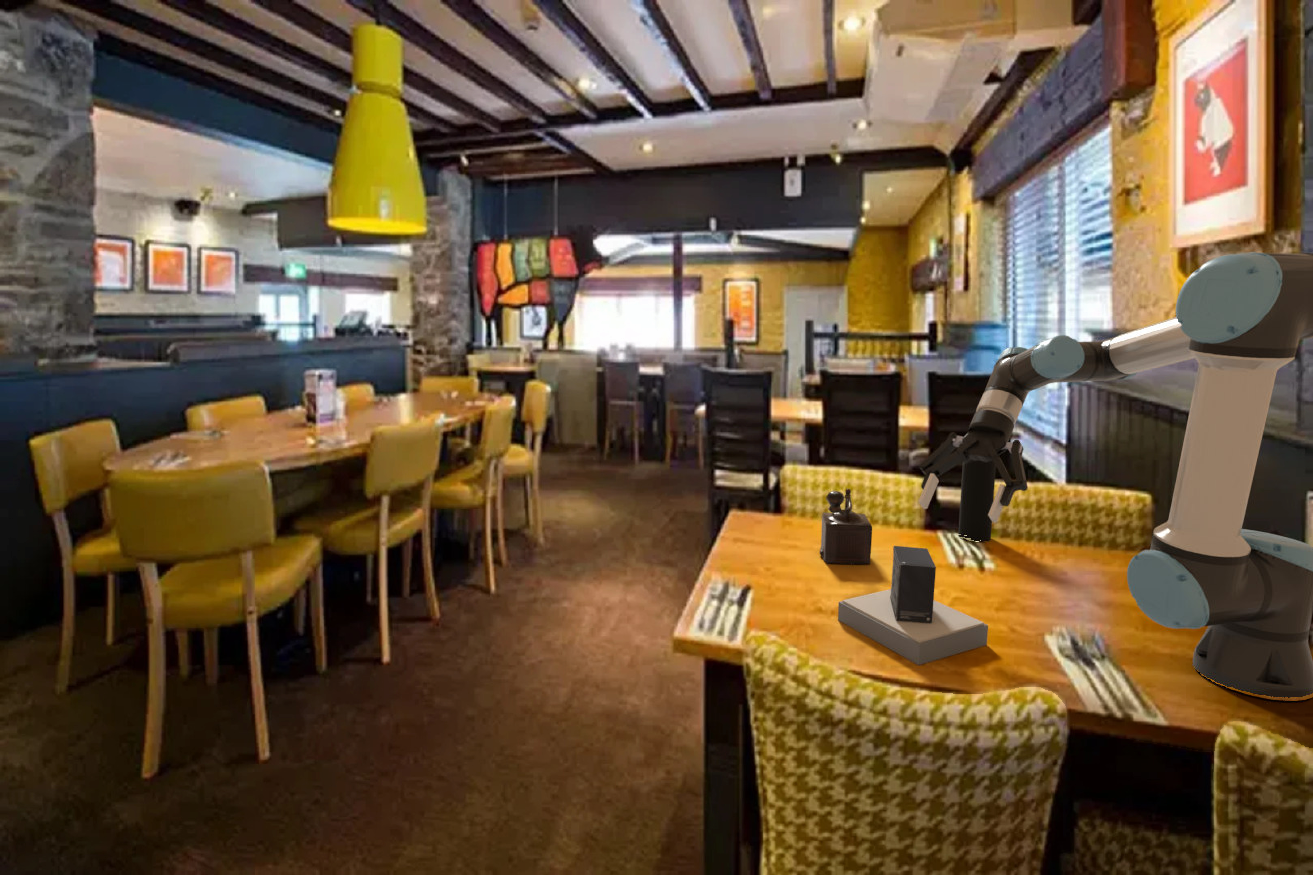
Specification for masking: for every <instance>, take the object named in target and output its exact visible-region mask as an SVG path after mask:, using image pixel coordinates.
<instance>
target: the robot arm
mask: <svg viewBox="0 0 1313 875" xmlns="http://www.w3.org/2000/svg"><path fill="white" fill-rule="evenodd" d="M1309 339H1313V252H1311V253H1310V252H1309V253H1308V252H1304V253H1293V252H1291V253H1290V252H1289V253H1288V252H1287V253H1281V252H1278V253H1277V252H1276V253H1275V252H1273V253H1272V252H1257V251H1256V252H1255V251H1251V252H1241V253H1235V254H1233V253H1232V254H1231V253H1230V254H1226V255H1224V254H1223V255H1221V256H1217V257H1215V258H1212V259H1211V260H1208V261H1207V262H1205V263H1203V264H1202V265H1201V266H1200V267H1199V268H1197V269H1196V270H1195V271H1193V272H1192V273H1191V274H1190V276H1189V277H1187V279H1186V281H1185V282H1184V283H1183V285H1182V287H1181V288H1180V290H1179V293H1178V296H1177V299H1176V303H1175V317H1172V318H1168V319H1166V320H1162V321H1159V322H1156V323H1153V324H1149V325H1147V326H1144V327H1140V328H1137V329H1135V330H1132V331H1128V332H1126V333H1122V334H1118V335H1116V336H1112V337H1111V338H1110V337H1109V338H1107V339H1103V340H1097V341H1096V340H1095V341H1094V340H1093V341H1078V340H1077V339H1075V338H1073V337H1071V336H1069V335H1066V334H1060V335H1056V336H1052V337H1051V338H1047V339H1044V340H1043V341H1040V342H1039V343H1037V344H1036V345H1034V346H1031V347H1030V348H1026V347H1022V346H1016V347H1008V348H1006V349H1004V350H1003V351H1002V352H1001V353H1000V355H999V357H998V359H997V360H996V361H995V363H994V365H993V369H992V372H991V374H990V377H989V379H988V382H987V384H986V387H985V390H984V392H983V393H982V396H981V398H980V400H979V403H978V405H977V407H976V410H975V413H974V415H973V416H972V419H971V422H970V423H969V426H968V431H967V433H966V434H965V435H964V436H961V435H957V434H956V432H954V431H953V432H950V433H949V435H948V436H947V437H946V440H945V441H944V442H943V443H942V444H941V445H940V446H939V447H937V448H936V449H935V450H934V451H933V452H932V453H931V454H930V455H929V456H927V458H926V459H925V460H923V461H922V462H921V463H920V464H919V466H918V467H919V469H920V470H921V472H922V473H923V475H925V476H924V478H923V480H922V482H921V485H920V487H921V489H922V492H921V494H920V497H919V498H918V503H919V505H920V506H921V507H922V508H923V509H924V510H926V509H928V508H929V505H930V502H931V501H932V498H933V496H934V495H935V494H934V493H935V491H936V489H937V486H938V484H939V482H940V481H939V477H940V476H941V475H943V474H945V473H947V472H948V471H950V470H951V469H953V468H955V467H956V466H958V465H960V464H961V463H963V462H966V461H967V460H969V459H972V460H975V461H978V460H981V461H983V462H988V461H991V460H993V461H994V463H995V465H996V470H998V473H999V474H1000V476H1001V478H1002V480H1003V481H1004V484H999V487H998V489H997V491H996V494H995V496H994V499H993V504H992V506H991V509H990V511H989V514H988V516H989V517H990V519H991V521H992V523H994V524H997V523H998V521H999V519H1000V517H1001V514H1002V510H1003V509H1004V507H1008V506H1009V505H1010V503H1011V501H1012V500H1013V495H1014V493H1016V492H1017V491H1021V492H1025V491H1027V490H1028V489H1029V486H1028V482H1027V477H1026V472H1025V469H1024V468H1025V467H1024V463H1023V458H1022V456H1023V452H1024V447H1023V445H1022V443H1021V441H1020V440H1019V439H1015V440H1013V441H1011V442H1009V441H1010V438H1011V436H1012V433H1013V431H1014V429H1015V424H1016V423H1017V420H1018V417H1019V416H1020V413H1021V411H1022V408H1023V406H1024V403H1025V401H1026V399H1027V396H1028V394H1029V393H1030V392H1032V391H1034V390H1037V389H1040V388H1042V387H1044V386H1047V385H1051V384H1055V383H1078V382H1079V383H1080V382H1097V381H1098V382H1101V381H1108V382H1118V381H1122V380H1129V379H1131V378H1133V377H1136V375H1137V374H1139V373H1141V372H1144V371H1148V370H1149V371H1150V370H1153V369H1157V368H1161V367H1165V366H1169V365H1174V364H1177V363H1181V362H1185V361H1189V360H1193V359H1195V360H1196V362H1197V363H1198V366H1197V372H1196V378H1195V383H1194V388H1193V392H1192V397H1191V402H1190V408H1189V412H1188V419H1187V423H1186V429H1185V433H1184V439H1183V444H1182V449H1181V455H1180V459H1179V466H1178V469H1177V474H1176V480H1175V484H1174V490H1173V494H1172V501H1171V506H1170V510H1169V515H1168V520H1167V521H1166V522H1164V523H1162V524H1160V525H1158V526H1156V527H1155V528H1154V529H1153V533H1152V539H1151V542H1150V544H1151V545H1150V548H1149V549H1144V550H1141V551H1140V552H1138V554H1136V555H1134V556H1132V558H1131V560H1130V561H1129V563H1128V567H1127V571H1126V577H1127V578H1126V580H1127V585H1128V590H1129V592H1130V594H1131V597H1132V598H1133V599H1134V600H1135V602H1136V604H1137V606H1138V608H1139V609H1140V611H1142V612H1143V613H1144V614H1145V616H1147V617H1148V618H1149V619H1150V620H1152V621H1153V622H1154V623H1156V624H1158V625H1161V626H1163V627H1166V628H1170V629H1174V630H1175V629H1177V630H1179V629H1191V630H1195V629H1200V628H1203V627H1207V628H1206V629H1205V632H1204V633H1203V635H1202V636H1201V638H1200V640H1199V641H1198V642H1197V645H1196V646H1195V647H1194V650H1193V656H1192V663H1193V664H1192V667H1193V666H1194V667H1195V669H1196V670H1198V671H1199V672H1200V673H1201V674H1203V675H1204V676H1206V677H1207V678H1210V679H1212V680H1214V681H1215V682H1217V683H1220V684H1223V685H1225V686H1227V687H1233V688H1235V689H1238V690H1241V691H1246V692H1250V693H1253V694H1258V695H1266V696H1271V697H1272V696H1273V697H1284V698H1285V697H1288V698H1290V697H1303V696H1306V695H1310V694H1312V693H1313V656H1312V652H1311V649H1310V646H1309V634H1310V629H1311V624H1312V623H1311V622H1312V618H1313V546H1312V545H1310V544H1308V543H1306V542H1303V541H1300V540H1297V539H1294V538H1290V537H1285V536H1282V535H1278V534H1274V533H1269V532H1265V531H1264V532H1263V531H1258V530H1251V529H1246V528H1243V524H1244V519H1245V515H1246V510H1247V506H1248V502H1249V497H1250V492H1251V488H1252V484H1253V478H1254V475H1255V470H1256V466H1257V460H1258V457H1259V452H1260V449H1261V444H1262V439H1263V435H1264V430H1265V425H1266V421H1267V418H1268V417H1267V416H1268V413H1269V412H1268V411H1269V409H1270V405H1271V404H1270V403H1271V399H1272V394H1273V390H1274V386H1275V380H1276V376H1277V372H1278V370H1280V369H1281V368H1282V367H1284V366H1285V365H1287V364H1288V363H1290V362H1293V361H1294V360H1295V359H1296V353H1297V351H1298V346H1299V341H1301V340H1309ZM1007 450H1008V451H1009V453H1010V454H1011V459H1012V465H1013V470H1014V475H1015V480H1012V478H1011V476H1010V474H1009V472H1008V470H1007V468H1006V467H1005V465H1004V462H1003V461H1002V459H1001V457H1000V455H1001V454H1002V455H1003V453H1005V452H1006V451H1007ZM964 452H965V453H964ZM1194 667H1193V668H1194ZM1195 669H1194V670H1195ZM1196 670H1195V671H1196Z"/></svg>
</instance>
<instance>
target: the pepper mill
mask: <svg viewBox="0 0 1313 875" xmlns="http://www.w3.org/2000/svg"><path fill="white" fill-rule="evenodd" d="M844 493H845V494H844ZM844 493H842V492H841V491H838V490H833V491H830V492H828V494H827V495H826V497H825V498H826V501H827V503H828V505H829V507H828V509H827V510H828V511H829V512H822V515H821V538H820V542H821V544H820V548H819V549H820V550H819V555H820V556H821V558H822V559H823V562H825V563H826V564H832V565H849V566H868V565H870V564H871V553H872V542H873V541H872V539H873V525H872V524H871V522H870V520H869V519H868V517H867V516H866V514H865V513H858V512H857V513H856V512H855V511H852V509H853V504H852V500H851V499H852V495H851V493H852V490H851V489H850V488H846V489H845V492H844ZM844 501H845V502H844ZM843 503H844V504H845V505H844V509H842V507H841V505H842V504H843Z"/></svg>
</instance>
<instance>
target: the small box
mask: <svg viewBox="0 0 1313 875" xmlns="http://www.w3.org/2000/svg"><path fill="white" fill-rule="evenodd" d="M892 549H893V550H892V553H893V554H892V557H893V559H892V571H891V585H890V589H891V595H890V599H891V603H892V607H893V612H894V616H895V620H900V621H912V622H923V623H932V615H933V601H934V599H935V585H936V584H935V583H936V570H937V567H936V564H935V562H934V560H933V558H932V556H931V554H930V551H929V549H928V548H925V547H923V548H922V547H912V546H901V545H893V548H892Z"/></svg>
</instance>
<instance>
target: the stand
mask: <svg viewBox="0 0 1313 875" xmlns="http://www.w3.org/2000/svg"><path fill="white" fill-rule="evenodd" d="M890 595H891V588H890V589H886V590H885V589H884V590H881V591H876V592H873V593H869V594H863V595H860V596H856V597H855V596H854V597H852V598H847V599H843V600H841V601H838V610H837V611H838V612H837V614H838V615H837V621H838V622H840V623H843V624H844V625H846V626H848V627H849V628H852V629H853V630H855V631H857V632H858V633H860V634H862V635H864V636H866V637H867V638H869V639H872V641H875V642H876V643H878V644H879V645H882V646H884V647H886V648H887V649H889V650H890V651H893V652H894V653H896V654H898V655H900V656H901V657H902V658H905V659H907V660H909V661H910V662H912V663H913V664H915V665H917V666H921V665H923V664H924V665H925V664H927V663H930V662H934V661H937V660H940V659H944V658H947V657H950V656H954V655H957V654H960V653H963V652H967V651H970V650H974V649H977V648H981V647H984V646H987V645H988V633H989V632H988V631H989V625H988V624H986V623H985V622H984V621H982V620H979V619H977V618H975V617H972V616H970V615H967V614H966V613H964V612H961V611H959V610H957V609H954V608H952V607H950V606H948V605H945V604H944V603H941V602H938V601H936V600H934V601H933V615H932V623H923V622H912V621H900V620H895V616H894V612H893V607H892V603H891V599H890Z"/></svg>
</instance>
